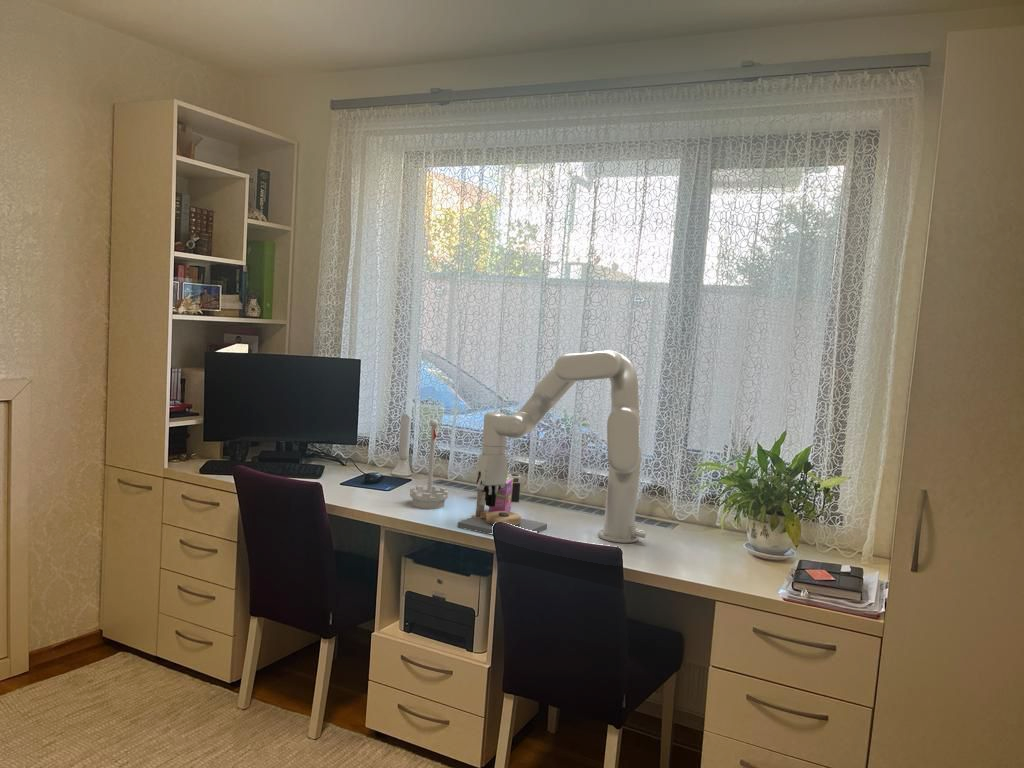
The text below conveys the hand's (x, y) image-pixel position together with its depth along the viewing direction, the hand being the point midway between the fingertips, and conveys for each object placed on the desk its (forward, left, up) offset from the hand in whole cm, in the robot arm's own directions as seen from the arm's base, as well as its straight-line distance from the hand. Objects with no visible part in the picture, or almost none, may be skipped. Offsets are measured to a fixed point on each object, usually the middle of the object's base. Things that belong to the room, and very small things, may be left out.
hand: (490, 505), depth 263 cm
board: (-7, +4, -5) cm, 10 cm away
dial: (-5, +4, -3) cm, 7 cm away
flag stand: (+26, -3, -5) cm, 27 cm away
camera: (+11, -28, -5) cm, 30 cm away
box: (+2, -11, -5) cm, 13 cm away
